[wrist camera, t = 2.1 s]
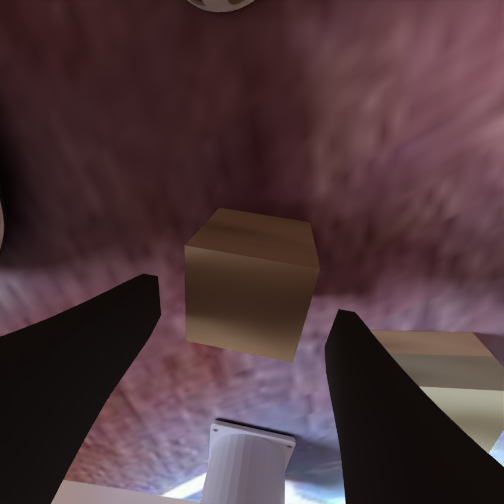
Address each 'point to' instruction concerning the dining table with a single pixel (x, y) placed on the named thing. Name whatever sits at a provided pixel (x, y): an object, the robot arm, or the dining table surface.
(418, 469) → the robot arm
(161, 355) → the dining table surface
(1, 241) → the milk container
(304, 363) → the dining table surface
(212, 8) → the pill bottle
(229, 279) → the walnut cube
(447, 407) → the cream slab
